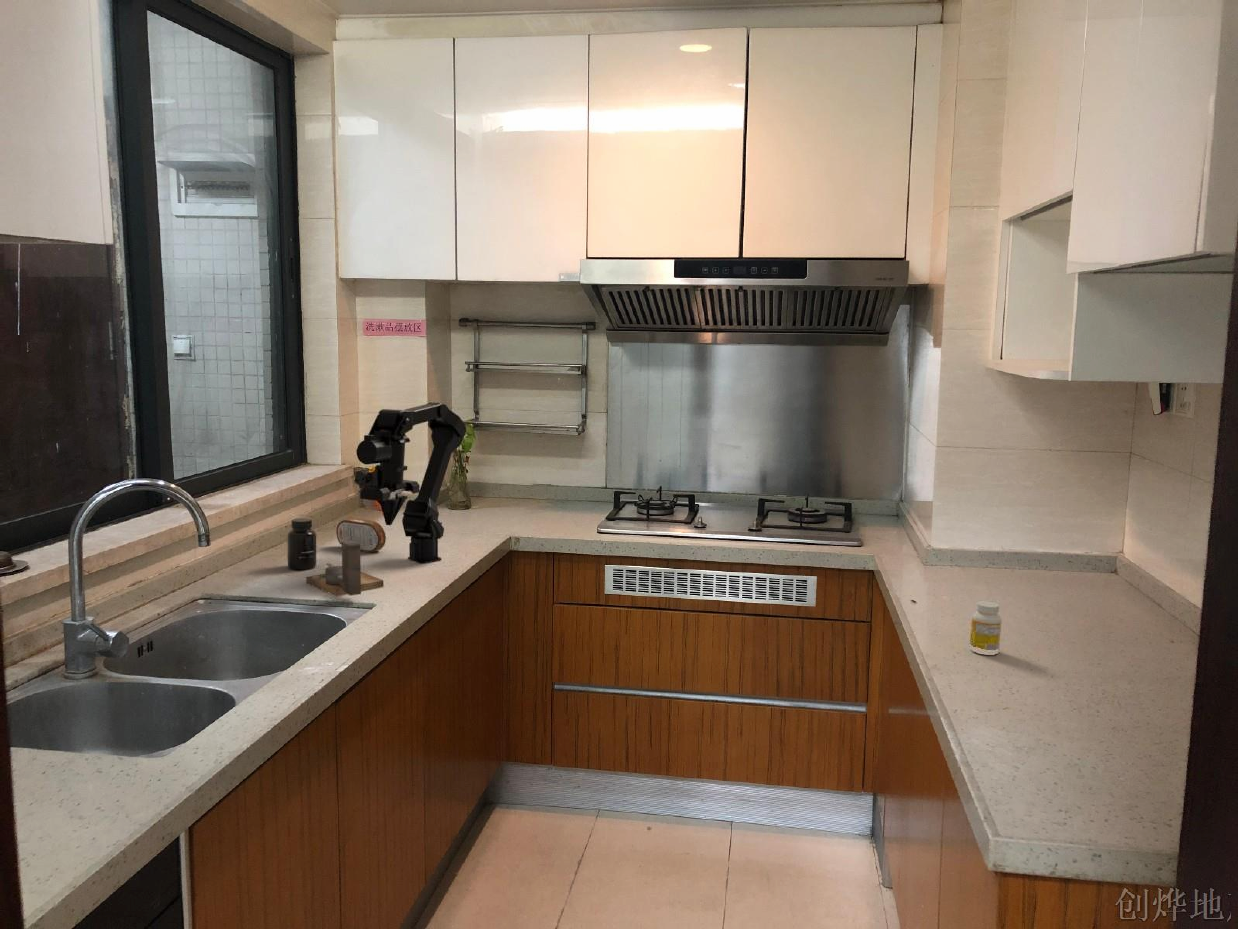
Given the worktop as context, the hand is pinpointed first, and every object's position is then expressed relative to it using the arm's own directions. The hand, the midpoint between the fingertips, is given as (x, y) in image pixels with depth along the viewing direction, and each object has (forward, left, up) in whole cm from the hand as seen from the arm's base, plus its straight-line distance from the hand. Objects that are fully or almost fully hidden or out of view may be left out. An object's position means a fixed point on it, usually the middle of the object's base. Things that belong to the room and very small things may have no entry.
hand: (388, 524), depth 227 cm
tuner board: (+14, +3, -12) cm, 18 cm away
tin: (-6, -25, -12) cm, 28 cm away
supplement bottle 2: (-56, +124, -12) cm, 137 cm away
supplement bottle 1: (+14, -18, -12) cm, 25 cm away
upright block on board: (+17, +8, -10) cm, 21 cm away
